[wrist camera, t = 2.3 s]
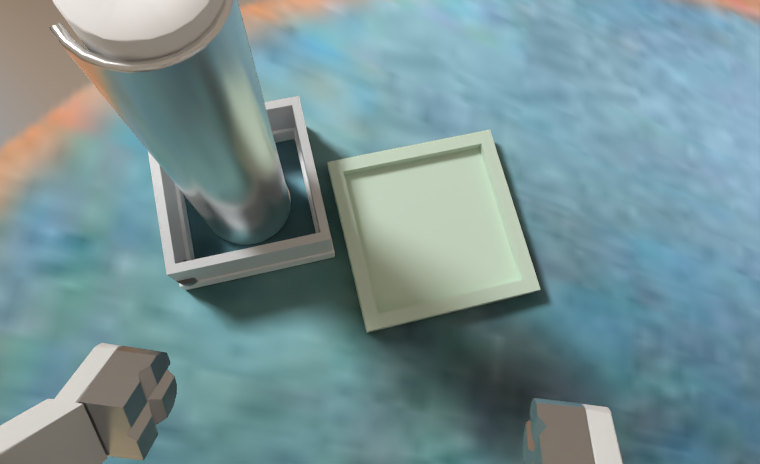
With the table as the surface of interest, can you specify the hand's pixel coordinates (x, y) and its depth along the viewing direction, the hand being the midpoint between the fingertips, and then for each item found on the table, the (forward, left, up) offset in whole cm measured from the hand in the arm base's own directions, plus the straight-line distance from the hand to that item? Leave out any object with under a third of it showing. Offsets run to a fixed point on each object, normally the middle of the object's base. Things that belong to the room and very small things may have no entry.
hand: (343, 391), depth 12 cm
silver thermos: (+4, -15, -28) cm, 32 cm away
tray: (-9, -10, -28) cm, 31 cm away
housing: (+4, -15, -28) cm, 32 cm away
